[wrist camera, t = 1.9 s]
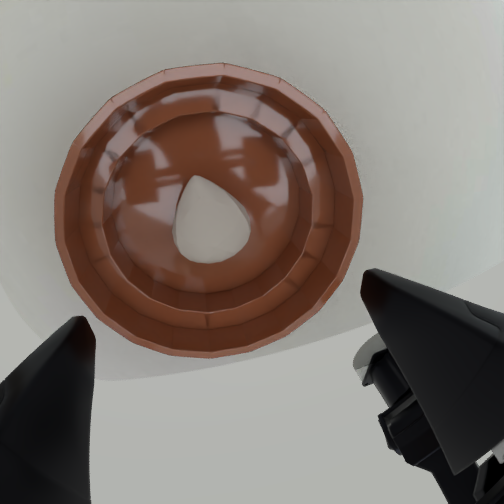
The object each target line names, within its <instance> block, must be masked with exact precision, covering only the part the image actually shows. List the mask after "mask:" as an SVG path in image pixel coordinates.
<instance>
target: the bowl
mask: <svg viewBox="0 0 504 504" xmlns="http://www.w3.org/2000/svg"><path fill="white" fill-rule="evenodd" d="M194 175H196V176H201V177H203V178H205V179H207V180H209V181H211V182H213V183H215V184H216V185H218V186H219V187H221V188H223V189H224V190H225V191H227V192H228V193H229V194H231V195H232V196H233V197H234V198H236V199H237V200H238V201H239V202H240V203H241V204H242V205H243V206H244V208H245V209H246V212H247V214H248V216H249V219H250V226H251V232H250V236H249V239H248V242H247V243H246V244H245V246H244V247H243V248H242V249H241V250H240V251H239V252H238V253H236V254H235V255H234V256H232V257H230V258H228V259H226V260H224V261H222V262H216V263H210V264H207V263H197V262H194V261H190V260H188V259H187V258H186V257H184V256H183V255H182V254H181V253H180V252H179V250H178V248H177V247H176V245H175V243H174V238H173V234H172V228H173V222H174V216H175V213H176V209H177V206H178V203H179V201H180V198H181V196H182V193H183V191H184V189H185V187H186V185H187V184H188V182H189V180H190V179H191V178H192V177H193V176H194ZM362 207H363V194H362V189H361V185H360V180H359V176H358V172H357V168H356V164H355V160H354V156H353V153H352V151H351V149H350V147H349V146H348V144H347V143H346V141H345V139H344V138H343V136H342V135H341V133H340V132H339V130H338V129H337V127H336V126H335V124H334V123H333V121H332V120H331V118H330V117H329V115H328V114H327V112H326V111H324V109H323V108H322V107H320V106H319V105H318V104H316V103H315V102H314V101H313V100H311V99H310V98H309V97H307V96H306V95H305V94H303V93H302V92H300V91H299V90H298V89H296V88H295V87H293V86H292V85H291V84H289V83H288V82H286V81H285V80H283V79H280V78H279V77H276V76H273V75H270V74H266V73H263V72H259V71H256V70H252V69H248V68H244V67H240V66H236V65H232V64H227V63H225V64H224V63H214V64H202V65H193V66H185V67H177V68H171V69H165V70H162V71H160V72H158V73H156V74H154V75H152V76H150V77H148V78H146V79H144V80H142V81H140V82H138V83H136V84H134V85H132V86H131V87H129V88H127V89H125V90H123V91H122V92H120V93H118V94H116V95H115V96H113V97H112V98H111V99H109V100H108V101H107V102H106V103H105V104H104V105H103V107H102V108H101V109H100V110H99V111H98V112H97V113H96V114H95V115H94V117H93V118H92V119H91V120H90V121H89V122H88V124H87V125H86V126H85V127H84V128H83V130H82V131H81V132H80V133H79V135H78V136H77V137H76V138H75V140H74V141H73V143H72V145H71V147H70V150H69V152H68V155H67V158H66V160H65V163H64V166H63V169H62V171H61V174H60V177H59V180H58V183H57V186H56V190H55V199H54V221H55V241H56V246H57V249H58V252H59V254H60V257H61V260H62V263H63V266H64V268H65V271H66V274H67V276H68V279H69V281H70V284H71V286H72V287H73V288H74V290H75V291H76V292H77V294H78V295H79V296H80V297H81V299H82V300H83V301H84V303H85V304H86V305H87V306H88V308H89V309H90V310H91V311H92V312H93V314H94V315H95V316H96V317H97V318H98V319H99V320H100V321H102V322H103V323H104V324H106V325H107V326H109V327H110V328H111V329H113V330H114V331H116V332H117V333H119V334H120V335H122V336H123V337H125V338H126V339H128V340H129V341H131V342H132V343H135V344H137V345H140V346H143V347H146V348H149V349H152V350H155V351H157V352H160V353H163V354H167V355H171V356H180V357H193V358H208V359H209V358H218V357H224V356H230V355H236V354H241V353H247V352H249V351H250V352H251V351H253V350H256V349H258V348H261V347H263V346H265V345H268V344H270V343H272V342H274V341H277V340H279V339H281V338H283V337H286V336H287V335H288V334H290V333H291V332H293V331H294V330H295V329H296V328H298V327H299V326H300V325H302V324H303V323H304V322H306V321H307V320H308V319H310V318H311V317H312V316H313V315H315V314H316V313H317V312H318V311H319V310H320V309H321V308H322V307H323V305H324V304H325V303H326V302H327V300H328V299H329V298H330V296H331V295H332V294H333V293H334V291H335V290H336V289H337V287H338V286H339V285H340V283H341V282H342V281H343V279H344V277H345V275H346V272H347V270H348V267H349V265H350V263H351V260H352V258H353V255H354V253H355V250H356V248H357V245H358V243H359V239H360V229H361V219H362Z"/></svg>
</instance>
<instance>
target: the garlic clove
mask: <svg viewBox="0 0 504 504" xmlns="http://www.w3.org/2000/svg"><path fill="white" fill-rule="evenodd" d="M250 232H251V226H250V219H249V216H248V214H247V212H246V209H245V208H244V206H243V205H242V204H241V203H240V202H239V201H238V200H237V199H236V198H234V197H233V196H232V195H231V194H229V193H228V192H227V191H225V190H224V189H223V188H221V187H219V186H218V185H216V184H215V183H213V182H211V181H209V180H207V179H205V178H203V177H201V176H196V175H194V176H193V177H192V178H191V179H190V180H189V182H188V184H187V185H186V187H185V189H184V191H183V193H182V196H181V198H180V201H179V203H178V206H177V209H176V213H175V216H174V222H173V228H172V234H173V238H174V243H175V245H176V247H177V248H178V250H179V252H180V253H181V254H182V255H183V256H184V257H186V258H187V259H188V260H190V261H194V262H197V263H207V264H210V263H216V262H222V261H224V260H226V259H228V258H230V257H232V256H234V255H235V254H236V253H238V252H239V251H240V250H241V249H242V248H243V247H244V246H245V244H246V243H247V242H248V239H249V236H250Z"/></svg>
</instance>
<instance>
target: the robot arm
mask: <svg viewBox="0 0 504 504" xmlns="http://www.w3.org/2000/svg"><path fill="white" fill-rule="evenodd" d="M360 294H361V298H362V300H363V302H364V304H365V306H366V308H367V310H368V312H369V314H370V316H371V318H372V321H373V323H374V325H375V327H376V329H377V331H378V333H379V334H380V336H381V338H382V340H383V341H384V343H385V345H386V346H387V348H386V349H384V350H381V351H378V352H376V353H374V354H373V355H372V358H371V361H370V363H369V366H368V369H367V372H366V374H365V377H364V379H363V382H362V385H363V386H368V385H370V384H373V383H374V385H375V386H376V388H377V389H378V391H379V392H380V394H381V395H382V397H383V399H384V400H385V402H386V403H387V405H388V407H389V409H387V410H386V411H384V412H383V413H381V414H379V415H378V418H379V420H378V421H379V423H380V425H381V427H382V429H383V432H384V434H385V437H386V441H387V445H388V448H389V449H391V450H394V451H395V452H396V453H397V454H399V455H403V457H404V459H405V461H406V462H407V463H409V464H410V465H412V466H417V467H419V468H422V469H425V470H427V471H429V472H431V473H432V474H433V476H434V478H435V479H436V481H437V483H438V485H439V486H440V488H441V490H442V492H443V494H444V496H445V498H446V500H447V502H448V504H504V314H503V313H501V312H497V311H494V310H491V309H488V308H485V307H482V306H480V305H477V304H474V303H471V302H469V301H466V300H463V299H461V298H458V297H455V296H453V295H449V294H447V293H444V292H442V291H439V290H436V289H433V288H431V287H428V286H425V285H422V284H419V283H417V282H414V281H411V280H408V279H405V278H402V277H400V276H397V275H394V274H391V273H388V272H385V271H382V270H379V269H376V268H374V269H369V270H366V271H365V272H364V274H363V279H362V285H361V291H360ZM95 349H96V339H95V335H94V333H93V331H92V329H91V327H90V325H89V323H88V321H87V319H86V318H85V317H84V316H74V317H72V318H71V319H69V320H68V321H67V322H66V323H65V324H64V325H63V326H61V327H60V328H59V329H58V330H57V331H56V332H55V333H53V334H52V335H51V336H50V337H49V338H48V339H47V340H46V341H44V342H43V343H42V344H41V345H40V346H39V347H38V348H37V349H36V350H35V351H34V352H33V353H31V354H30V355H29V356H28V357H27V358H26V359H25V360H24V361H23V362H22V363H21V364H20V365H19V366H18V367H17V368H16V369H15V370H13V372H11V373H10V374H9V375H8V377H6V378H5V380H3V381H2V382H1V384H0V504H91V500H90V498H91V496H90V479H89V477H90V476H89V446H90V443H89V442H90V422H91V409H92V398H93V389H94V374H95ZM490 450H492V452H493V454H492V455H491V456H490V457H489V458H488V459H487V460H486V461H485V462H484V463H483V464H482V465H480V466H479V465H478V464H477V462H476V461H477V460H478V459H479V458H481V457H482V456H483V455H485V454H486V453H487V452H489V451H490Z"/></svg>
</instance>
